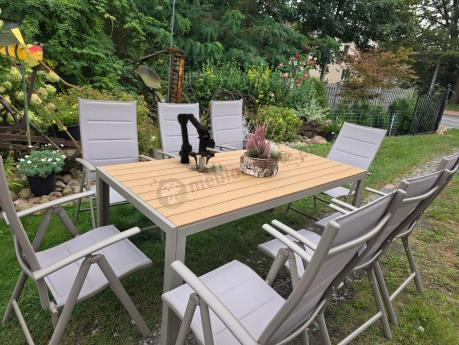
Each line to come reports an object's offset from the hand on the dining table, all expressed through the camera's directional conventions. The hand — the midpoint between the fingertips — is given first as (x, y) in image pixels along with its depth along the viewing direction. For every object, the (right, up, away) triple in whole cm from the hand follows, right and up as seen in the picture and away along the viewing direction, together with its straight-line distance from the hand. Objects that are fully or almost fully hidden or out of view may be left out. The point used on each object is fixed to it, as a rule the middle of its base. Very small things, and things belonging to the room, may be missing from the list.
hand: (201, 165), depth 227 cm
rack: (0, -3, +1) cm, 3 cm away
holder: (+12, -3, +5) cm, 13 cm away
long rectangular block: (0, -3, +1) cm, 3 cm away
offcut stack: (+2, -6, -6) cm, 9 cm away
